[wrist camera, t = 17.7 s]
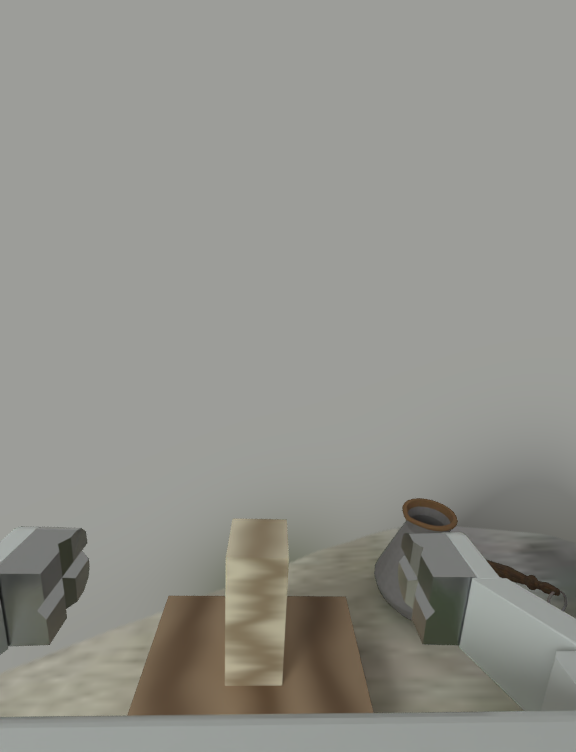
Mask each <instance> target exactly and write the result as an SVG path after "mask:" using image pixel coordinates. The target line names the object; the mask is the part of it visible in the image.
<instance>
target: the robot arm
mask: <svg viewBox="0 0 576 752" xmlns="http://www.w3.org/2000/svg"><path fill="white" fill-rule="evenodd" d="M86 544H87V538H86V531H85V530H83V529H82V528H63V527H25V526H22V527H19V528H15V529H14V530H13V531H12V532H11V533H9V534H8V535H7V536H6V537H5V538H4V539H3V540H2V541H1V542H0V655H1V654H2V653H3V652H5V651H6V650H7V649H8V646H29V645H30V646H31V645H32V646H33V645H50V643H51V642H52V640H53V639H54V637H55V636H56V634H57V632H58V631H59V629H60V628H61V626H62V625H63V623H64V621H65V620H66V618H67V614H66V609H67V608H68V607H70V606H71V605H72V604H74V603H76V602H77V601H78V600H79V597H80V596H81V595H82V593H83V591H84V589H85V586H86V583H87V580H88V576H89V558H88V557H87V556H86V555H85V554H84V553H83V551H82V550H83V548H84V547H85V546H86ZM401 548H402V550H403V552H404V554H405V555H404V557H403V558H402V559H401V560H400V561H399V566H398V580H399V587H400V591H401V594H402V597H403V599H404V602H405V603H406V604H407V605H408V606H410V607H411V608H412V609H413V612H412V621H413V623H414V625H415V628H416V630H417V632H418V635H419V637H420V639H421V641H422V644H428V645H460V646H459V648H460V649H461V650H462V651H463V652H464V653H465V654H466V655H467V656H468V657H470V658H471V659H472V660H473V661H474V662H475V663H476V664H477V665H478V666H479V667H480V668H481V669H482V670H483V671H484V672H485V673H486V674H487V675H488V676H489V677H490V678H491V679H492V680H493V681H494V682H495V683H496V684H497V685H498V686H499V687H500V688H501V689H502V690H503V691H504V692H506V693H507V694H508V695H509V696H510V697H511V698H512V699H513V700H514V701H515V702H516V703H517V704H518V705H519V706H520V707H521V708H522V709H523V710H524V711H499V712H421V713H314V714H222V715H135V716H46V717H0V752H576V619H575V618H574V617H572V616H570V615H569V614H567V613H565V612H563V611H562V610H560V609H558V608H557V607H555V606H553V605H551V604H550V603H548V602H546V601H545V600H543V599H541V598H539V597H538V596H536V595H534V594H533V593H531V592H529V591H527V590H526V589H524V588H522V587H521V586H519V585H517V584H515V583H514V582H512V581H510V580H509V579H507V578H500V577H499V576H498V575H497V573H496V572H495V571H494V570H493V568H492V567H491V566H490V565H489V563H488V562H487V561H486V560H485V558H484V557H483V556H482V555H481V553H480V552H479V551H478V550H477V548H476V547H475V546H474V545H473V543H472V542H471V541H470V540H469V539H468V537H467V536H466V535H465V534H463V533H461V532H442V533H404V535H403V537H402V542H401Z"/></svg>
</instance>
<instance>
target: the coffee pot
mask: <svg viewBox="0 0 576 752" xmlns="http://www.w3.org/2000/svg"><path fill="white" fill-rule="evenodd" d="M403 514H404V517H405V518H406V522H405V523H404V525H403V526H402V527H401V528H400V530H399V531H398V532H397V534H396V535H395V537H394V538H393V539H392V541H391V542H390V543H389V545H388V546H387V547H386V549H385V550H384V551H383V553H382V554H381V556H380V557H379V559H378V560H377V562H376V564H375V572H374V574H375V579H376V582H377V585H378V588H379V590H380V592H381V593H382V595H383V597H384V598H385V599H386V600H387V602H388V603H389V604H390V605H391V606H392V607H393V608H394V609H396V610H397V611H398V612H399V613H400V614H402V615H403V616H404V617H406V618H408V619H410V620H412V612H413V609H412V608H411V607H410V606H408V605H407V604H406V603H405V602H404V599H403V597H402V594H401V591H400V587H399V580H398V566H399V561H400V560H401V559H402V558H403V557H404V555H405V554H404V552H403V550H402V548H401V542H402V537H403V535H404V533H442V532H450V531H451V529H453V528H454V527H455V526H456V525H457V522H458V521H457V517H456V515H455V514H454V512H453V511H452V510H451V509H449V508H448V507H446V506H445V505H443V504H440V503H438V502H435V501H433V500H428V499H420V498H417V499H411V500H408V501H406V502H405V503H404V505H403ZM486 561H487V562H488V563H489V565H490V566H491V567H492V568H493V570H494V571H495V572H496V573H497V575H498V576H499V577H501V578H507V579H509V580H510V581H512V582H517V583H521V584H525V585H527V587H528V588H529V589H531V590H535V589H540V590H542V591H543V592H544V593H547V594H550V595H549V597H548V598H547V602H548V603H550V599H551V597H552V595H557V596H559V595H560V592H561V593H562V594H563V596H564V606H563V608H562V609H561V610H562V611H563V612H564V611H565V609H566V607H567V597H566V595H565V593H563V592H562V591H560V590H559V589H558V588H556V587H555V586H553V585H551V584H549V583H547V582H541V581H538V580H537V578H536V577H535V576H533V575H529V576H526V575H524V574H522V573H520V572H518V571H516V570H514V569H513V568H511V567H509V566H505V565H502V564H499V563H495V562H492V561H489V560H486Z"/></svg>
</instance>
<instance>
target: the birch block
mask: <svg viewBox="0 0 576 752" xmlns="http://www.w3.org/2000/svg"><path fill="white" fill-rule="evenodd" d="M288 565H289V552H288V535H287V520H284V519H282V520H281V519H233V520H232V525H231V531H230V536H229V542H228V548H227V553H226V586H225V686H281V685H282V678H283V659H284V640H285V622H286V603H287V584H288Z"/></svg>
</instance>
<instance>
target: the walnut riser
mask: <svg viewBox="0 0 576 752" xmlns="http://www.w3.org/2000/svg"><path fill="white" fill-rule="evenodd" d="M314 713H373V709H372V704H371V700H370V696H369V692H368V688H367V684H366V679H365V675H364V671H363V667H362V663H361V658H360V654H359V650H358V646H357V642H356V637H355V633H354V629H353V625H352V621H351V617H350V612H349V608H348V604H347V600H346V597H316V596H287V603H286V622H285V640H284V659H283V678H282V685H281V686H225V596H168V599H167V602H166V605H165V608H164V611H163V614H162V616H161V619H160V622H159V625H158V628H157V631H156V634H155V637H154V640H153V643H152V646H151V648H150V651H149V654H148V657H147V660H146V663H145V666H144V669H143V672H142V675H141V677H140V680H139V683H138V686H137V689H136V692H135V695H134V698H133V701H132V704H131V707H130V709H129V712H128V715H127V716H135V715H222V714H314Z"/></svg>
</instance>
